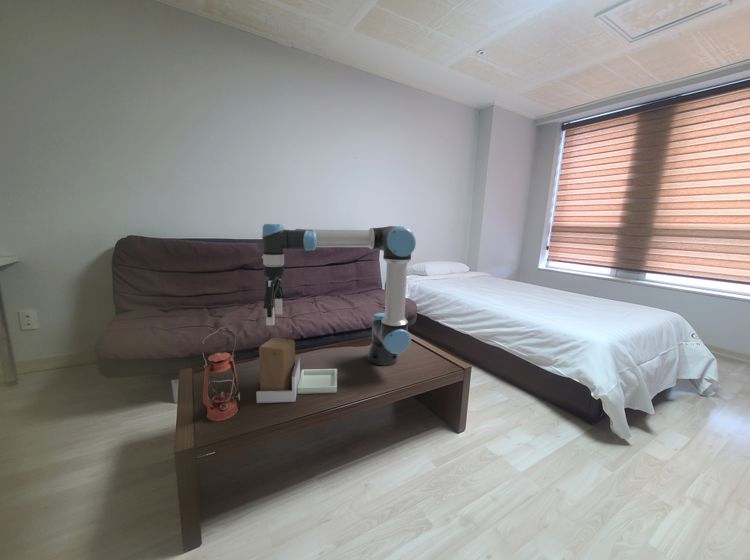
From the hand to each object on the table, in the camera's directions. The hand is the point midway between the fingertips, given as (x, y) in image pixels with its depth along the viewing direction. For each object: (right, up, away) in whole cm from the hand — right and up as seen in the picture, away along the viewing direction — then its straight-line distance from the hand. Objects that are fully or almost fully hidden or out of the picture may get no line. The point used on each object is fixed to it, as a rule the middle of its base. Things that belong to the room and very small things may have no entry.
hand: (274, 319), depth 118 cm
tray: (+16, -27, +6) cm, 32 cm away
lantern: (-13, -30, -14) cm, 36 cm away
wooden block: (+2, -28, 0) cm, 28 cm away
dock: (+2, -28, 0) cm, 28 cm away
